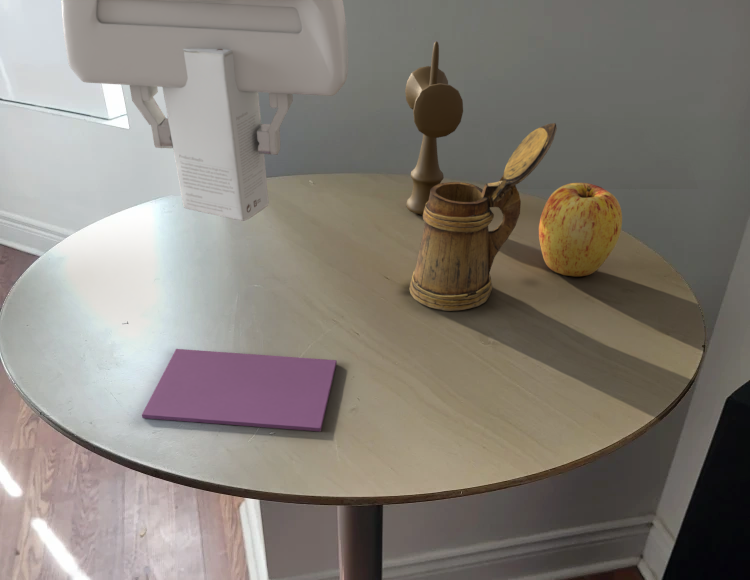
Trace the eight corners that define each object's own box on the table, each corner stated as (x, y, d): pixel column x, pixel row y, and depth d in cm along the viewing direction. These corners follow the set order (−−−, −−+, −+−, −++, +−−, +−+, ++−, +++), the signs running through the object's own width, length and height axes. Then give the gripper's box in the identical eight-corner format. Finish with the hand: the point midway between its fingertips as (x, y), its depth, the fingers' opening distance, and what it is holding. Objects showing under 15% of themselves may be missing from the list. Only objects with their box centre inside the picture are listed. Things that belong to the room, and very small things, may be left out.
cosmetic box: (271, 205, 65) (260, 40, 56) (242, 225, 62) (226, 53, 53) (208, 191, 66) (188, 29, 58) (177, 210, 63) (152, 42, 55)
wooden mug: (536, 311, 85) (568, 138, 72) (413, 311, 84) (424, 136, 72) (521, 273, 91) (548, 109, 79) (406, 273, 90) (416, 107, 78)
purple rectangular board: (142, 418, 69) (141, 414, 69) (176, 352, 77) (175, 348, 77) (320, 431, 68) (320, 428, 68) (336, 363, 76) (336, 359, 76)
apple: (607, 257, 95) (628, 174, 88) (610, 292, 88) (632, 205, 82) (533, 250, 96) (547, 167, 89) (530, 283, 89) (545, 197, 83)
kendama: (407, 226, 100) (417, 52, 87) (397, 196, 107) (405, 31, 94) (453, 225, 101) (470, 51, 87) (440, 195, 108) (454, 31, 94)
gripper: (22, -69, 49) (74, 155, 59) (341, -55, 49) (341, 171, 58) (60, -82, 54) (102, 128, 64) (352, -69, 53) (350, 142, 63)
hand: (218, 149), depth 61 cm, fingers closed on cosmetic box, 7 cm apart
